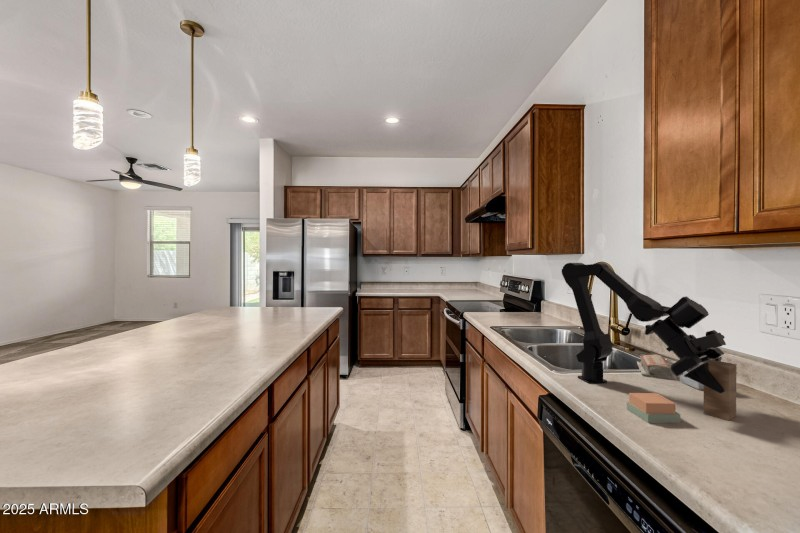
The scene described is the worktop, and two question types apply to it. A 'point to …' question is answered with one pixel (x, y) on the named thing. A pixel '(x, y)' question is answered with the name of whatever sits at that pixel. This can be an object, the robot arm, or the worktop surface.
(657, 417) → the tower base
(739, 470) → the worktop surface
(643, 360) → the packaged product
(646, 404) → the tower top
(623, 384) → the worktop surface
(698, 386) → the medicine box
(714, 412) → the walnut block
